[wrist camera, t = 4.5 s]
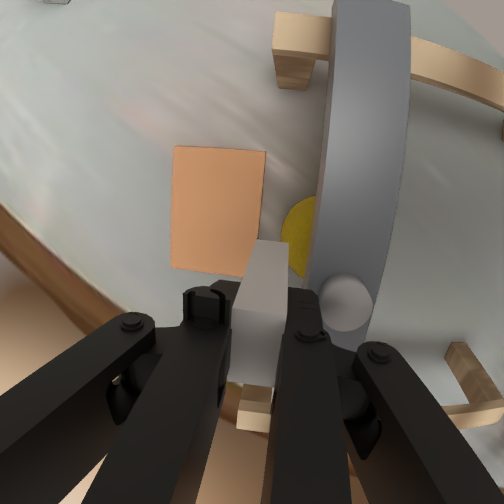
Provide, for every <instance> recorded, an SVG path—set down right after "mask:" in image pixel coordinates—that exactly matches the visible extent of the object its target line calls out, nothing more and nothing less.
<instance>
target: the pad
mask: <svg viewBox="0 0 504 504" xmlns="http://www.w3.org/2000/svg"><path fill="white" fill-rule="evenodd" d="M265 156H266V152H262V151H251V150H238V149H225V148H208V147H187V146H174V158H173V178H172V207H171V268H178V269H186V270H193V271H200V272H208V273H215V274H223V275H231V276H238V277H243V276H244V273H245V270H246V267H247V264H248V261H249V259H250V256H251V253H252V250H253V247H254V245H255V242H256V239H258V230H259V220H260V209H261V199H262V188H263V178H264V167H265Z"/></svg>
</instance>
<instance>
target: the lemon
mask: <svg viewBox="0 0 504 504" xmlns="http://www.w3.org/2000/svg"><path fill="white" fill-rule="evenodd" d="M315 200H316V196H312V197H309V198H306V199H304V200H302V201H301V202H299V203H297V204H296V205H295V206H294V207H293V208H292V209H291V210H290V212H289V213H288V215H287V217H286V218H285V220H284V223H283V227H282V230H281V242H285V243H289V255H288V264H289V265H290V267H291V268H292V269H293V270H294V271H295V272H296V273H297V274H298V275H299V276H301V277H302V278H304V276H305V269H306V263H307V256H308V250H309V243H310V236H311V229H312V222H313V215H314V208H315Z"/></svg>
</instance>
